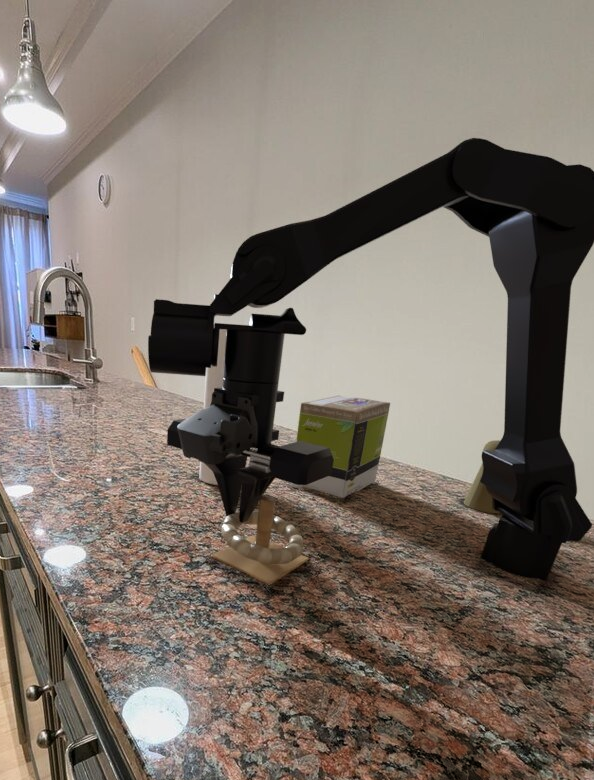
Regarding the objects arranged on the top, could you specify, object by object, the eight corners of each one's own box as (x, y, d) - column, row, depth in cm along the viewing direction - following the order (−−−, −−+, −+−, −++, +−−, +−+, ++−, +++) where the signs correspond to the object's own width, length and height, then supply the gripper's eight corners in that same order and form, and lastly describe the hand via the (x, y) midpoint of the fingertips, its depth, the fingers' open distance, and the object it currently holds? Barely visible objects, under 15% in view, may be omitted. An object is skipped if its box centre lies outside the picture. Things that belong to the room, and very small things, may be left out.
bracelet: (315, 549, 51) (319, 538, 50) (270, 577, 44) (274, 565, 44) (253, 512, 56) (256, 501, 55) (203, 533, 49) (206, 520, 48)
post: (307, 565, 51) (319, 500, 48) (268, 591, 46) (278, 520, 43) (252, 541, 56) (259, 481, 53) (210, 562, 51) (215, 496, 47)
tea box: (326, 470, 88) (339, 393, 82) (376, 483, 82) (394, 402, 77) (287, 486, 77) (300, 399, 72) (342, 503, 72) (360, 410, 66)
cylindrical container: (236, 487, 75) (252, 327, 65) (195, 482, 76) (204, 323, 67) (242, 475, 81) (257, 327, 72) (203, 470, 83) (213, 324, 73)
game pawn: (493, 501, 77) (514, 439, 73) (512, 515, 72) (535, 448, 67) (457, 498, 78) (476, 436, 73) (473, 511, 72) (494, 444, 68)
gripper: (130, 371, 45) (130, 512, 51) (285, 398, 34) (262, 574, 40) (203, 369, 53) (196, 491, 59) (348, 391, 42) (321, 538, 48)
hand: (236, 519), depth 52 cm, fingers closed on bracelet, 1 cm apart
